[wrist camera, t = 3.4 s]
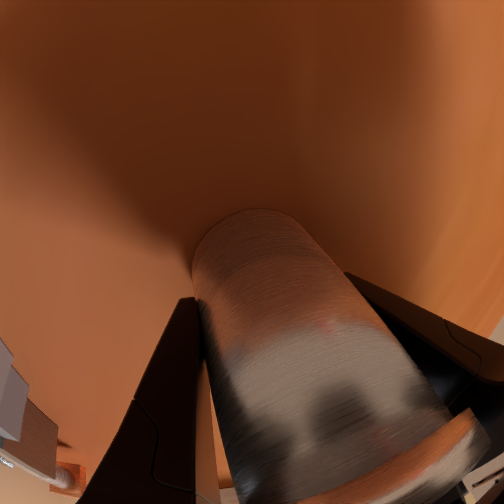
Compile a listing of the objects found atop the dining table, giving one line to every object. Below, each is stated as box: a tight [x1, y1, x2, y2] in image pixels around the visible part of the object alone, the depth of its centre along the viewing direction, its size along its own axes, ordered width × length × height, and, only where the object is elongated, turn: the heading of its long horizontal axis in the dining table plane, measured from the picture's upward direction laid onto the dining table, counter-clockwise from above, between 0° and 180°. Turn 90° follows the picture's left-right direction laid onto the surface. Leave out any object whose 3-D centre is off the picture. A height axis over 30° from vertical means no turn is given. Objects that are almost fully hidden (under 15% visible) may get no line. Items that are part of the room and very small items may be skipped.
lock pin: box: [0, 452, 86, 499], centre depth 9 cm, size 3×11×3 cm, turn 0°
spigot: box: [191, 209, 491, 504], centre depth 6 cm, size 5×5×8 cm
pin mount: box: [0, 398, 58, 480], centre depth 8 cm, size 5×5×4 cm
